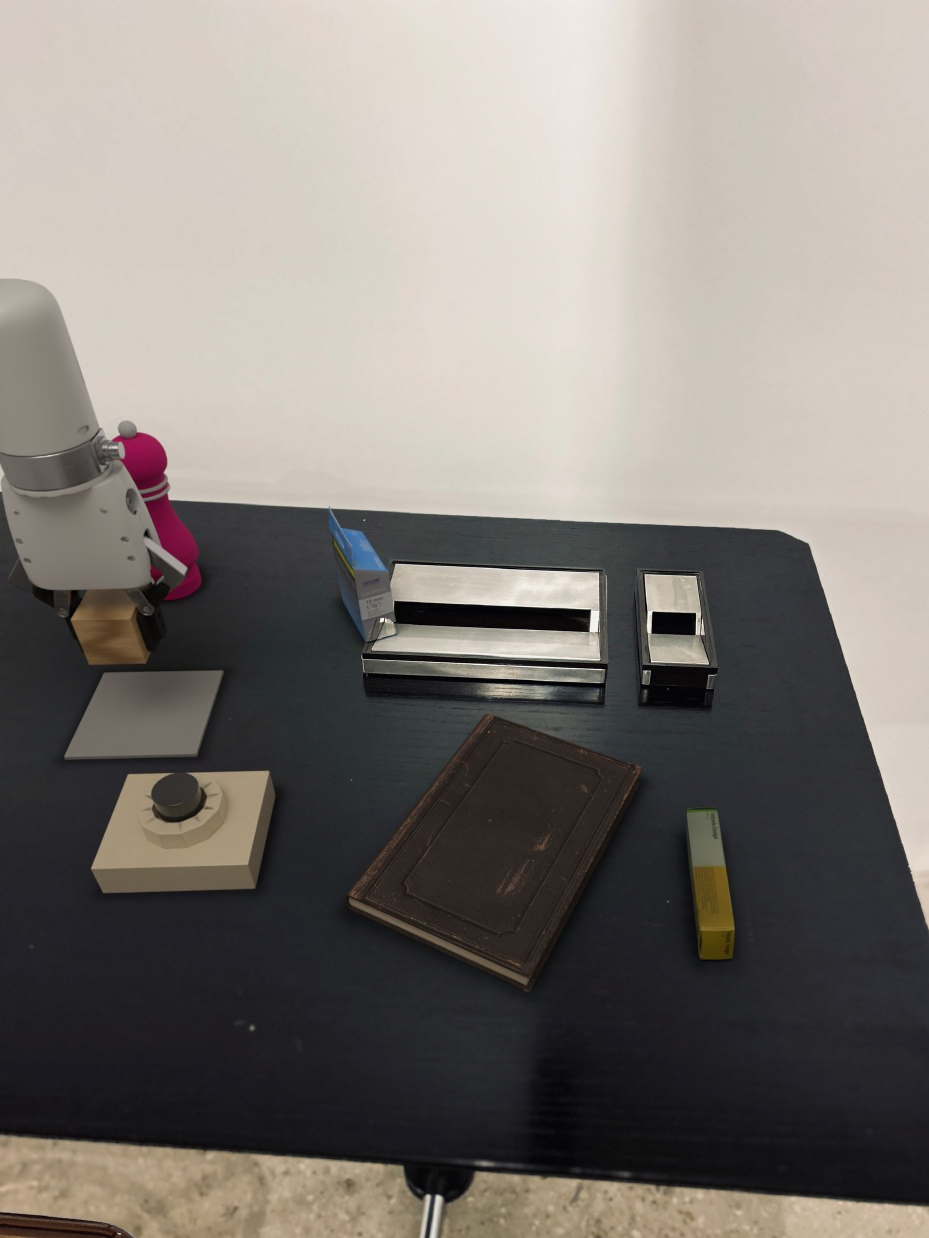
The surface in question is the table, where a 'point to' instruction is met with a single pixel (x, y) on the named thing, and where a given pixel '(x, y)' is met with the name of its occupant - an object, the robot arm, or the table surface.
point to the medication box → (709, 884)
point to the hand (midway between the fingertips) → (123, 641)
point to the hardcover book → (498, 849)
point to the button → (177, 797)
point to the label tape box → (361, 577)
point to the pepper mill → (159, 503)
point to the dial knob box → (187, 837)
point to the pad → (146, 715)
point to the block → (109, 628)
